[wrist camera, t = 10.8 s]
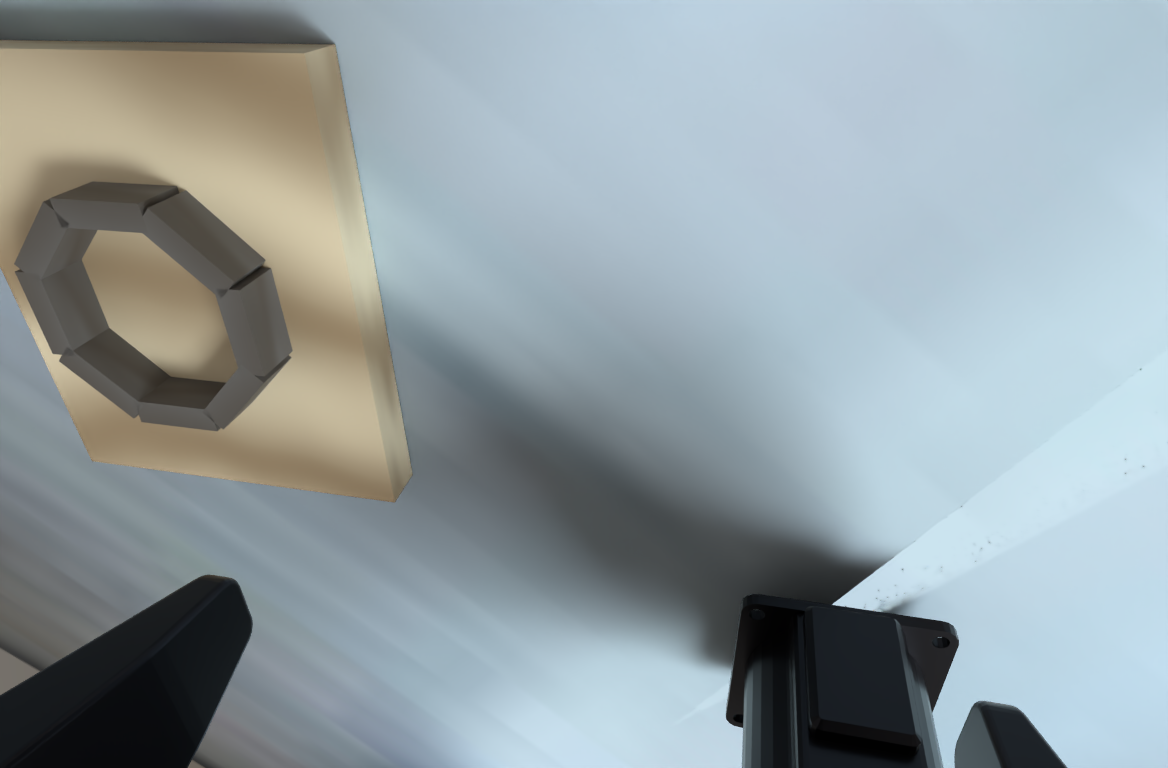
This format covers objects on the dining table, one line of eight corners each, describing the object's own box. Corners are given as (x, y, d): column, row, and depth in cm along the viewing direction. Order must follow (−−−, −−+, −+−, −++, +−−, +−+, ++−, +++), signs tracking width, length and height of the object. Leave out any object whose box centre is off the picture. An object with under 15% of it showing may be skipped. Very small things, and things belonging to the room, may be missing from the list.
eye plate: (412, 474, 26) (375, 533, 24) (121, 437, 28) (59, 487, 26) (335, 44, 19) (268, 63, 16) (-53, 39, 21) (-163, 55, 18)
